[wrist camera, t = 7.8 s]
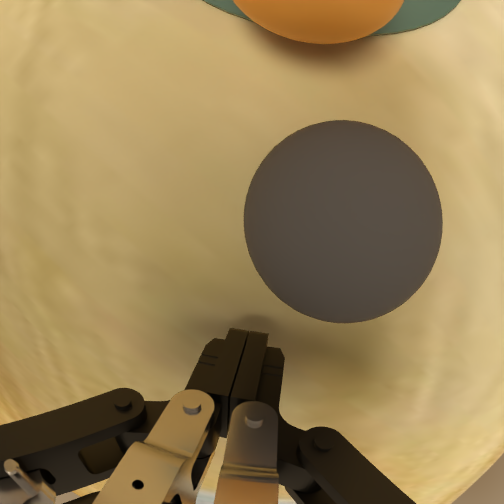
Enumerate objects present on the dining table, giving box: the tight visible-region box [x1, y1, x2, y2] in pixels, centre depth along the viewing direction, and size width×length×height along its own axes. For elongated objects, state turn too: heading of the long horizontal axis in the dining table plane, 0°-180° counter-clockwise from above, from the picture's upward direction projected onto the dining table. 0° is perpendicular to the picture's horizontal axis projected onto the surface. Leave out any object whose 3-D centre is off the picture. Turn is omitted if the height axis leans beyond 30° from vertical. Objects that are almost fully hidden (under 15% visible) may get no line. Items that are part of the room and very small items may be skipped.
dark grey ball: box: [244, 120, 443, 323], centre depth 8 cm, size 6×6×6 cm
